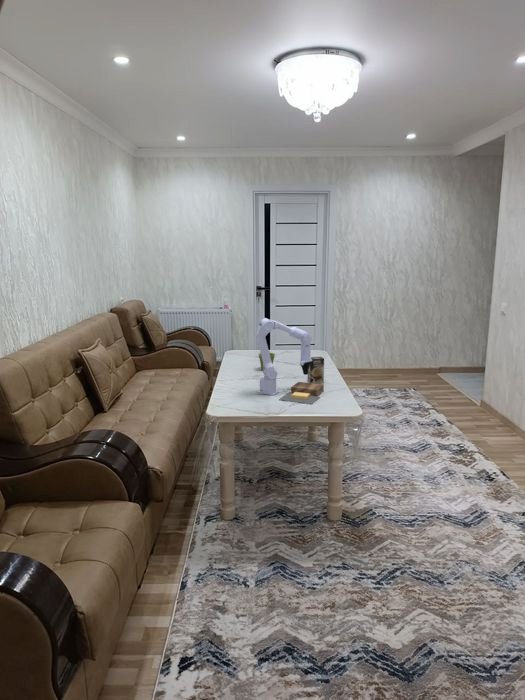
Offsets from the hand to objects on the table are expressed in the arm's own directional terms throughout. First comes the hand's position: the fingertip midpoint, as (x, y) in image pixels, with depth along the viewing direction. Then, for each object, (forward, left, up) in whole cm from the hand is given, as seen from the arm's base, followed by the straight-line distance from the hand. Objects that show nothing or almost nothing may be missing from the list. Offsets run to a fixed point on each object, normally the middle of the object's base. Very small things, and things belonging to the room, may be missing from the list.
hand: (305, 374), depth 305 cm
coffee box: (+1, +16, -10) cm, 19 cm away
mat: (+3, -18, -9) cm, 21 cm away
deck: (+3, -5, -9) cm, 11 cm away
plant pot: (-40, +33, -10) cm, 53 cm away
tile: (+3, -17, -7) cm, 19 cm away
